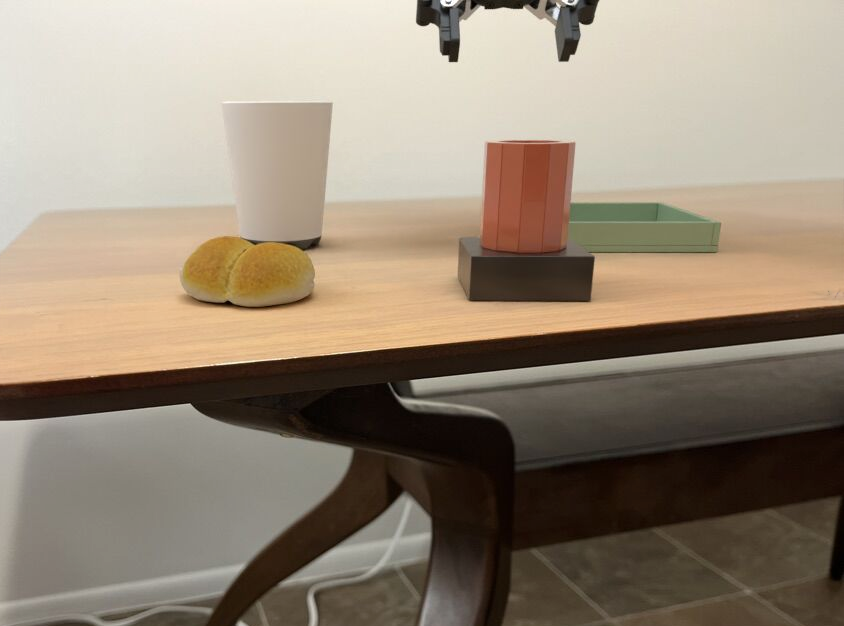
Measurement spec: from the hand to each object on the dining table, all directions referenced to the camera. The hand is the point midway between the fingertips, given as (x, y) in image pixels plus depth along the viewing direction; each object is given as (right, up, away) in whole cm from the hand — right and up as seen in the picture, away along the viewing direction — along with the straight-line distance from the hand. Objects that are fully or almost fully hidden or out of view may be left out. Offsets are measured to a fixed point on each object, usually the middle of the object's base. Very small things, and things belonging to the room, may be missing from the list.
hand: (510, 53), depth 62 cm
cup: (-19, -13, +14) cm, 26 cm away
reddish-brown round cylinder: (0, -16, -6) cm, 17 cm away
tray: (+12, -11, +16) cm, 23 cm away
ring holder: (0, -19, -5) cm, 19 cm away
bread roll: (-19, -19, -6) cm, 28 cm away
